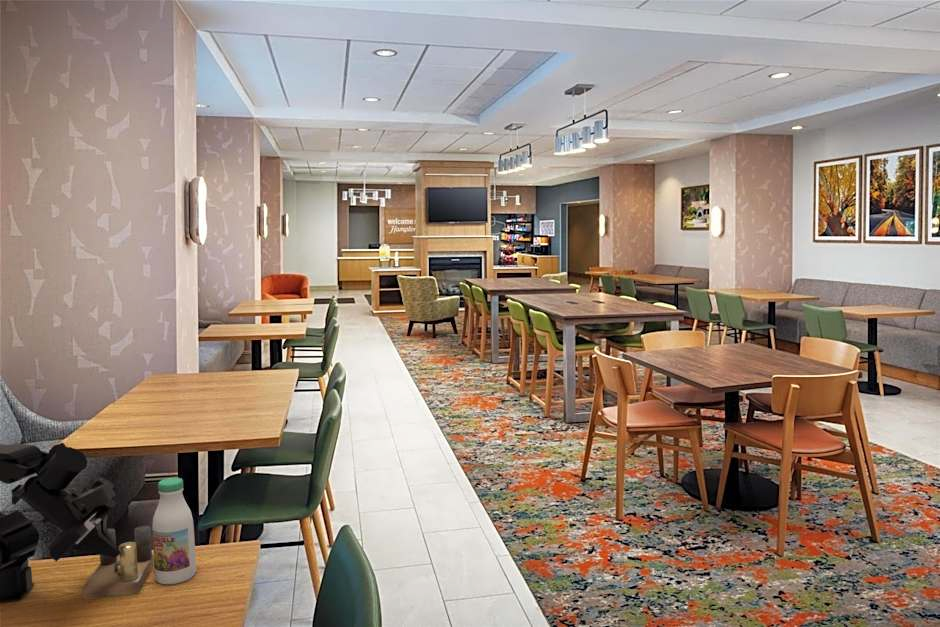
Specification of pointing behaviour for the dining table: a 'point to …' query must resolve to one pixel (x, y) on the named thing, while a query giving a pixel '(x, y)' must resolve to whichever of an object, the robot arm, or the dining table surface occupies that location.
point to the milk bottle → (173, 535)
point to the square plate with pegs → (108, 577)
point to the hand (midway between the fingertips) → (118, 555)
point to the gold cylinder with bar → (128, 561)
